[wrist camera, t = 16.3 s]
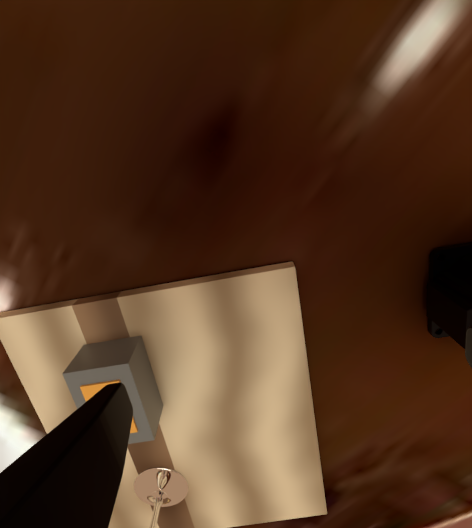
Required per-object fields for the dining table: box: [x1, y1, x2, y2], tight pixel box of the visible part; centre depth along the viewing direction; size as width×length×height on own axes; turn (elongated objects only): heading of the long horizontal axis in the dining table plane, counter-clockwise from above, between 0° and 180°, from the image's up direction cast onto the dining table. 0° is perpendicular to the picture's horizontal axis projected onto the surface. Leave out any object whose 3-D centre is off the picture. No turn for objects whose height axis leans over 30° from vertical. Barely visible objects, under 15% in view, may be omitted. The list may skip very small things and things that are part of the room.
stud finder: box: [62, 336, 164, 444], centre depth 22 cm, size 4×6×3 cm, turn 10°
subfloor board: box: [0, 261, 327, 528], centre depth 25 cm, size 20×23×1 cm
